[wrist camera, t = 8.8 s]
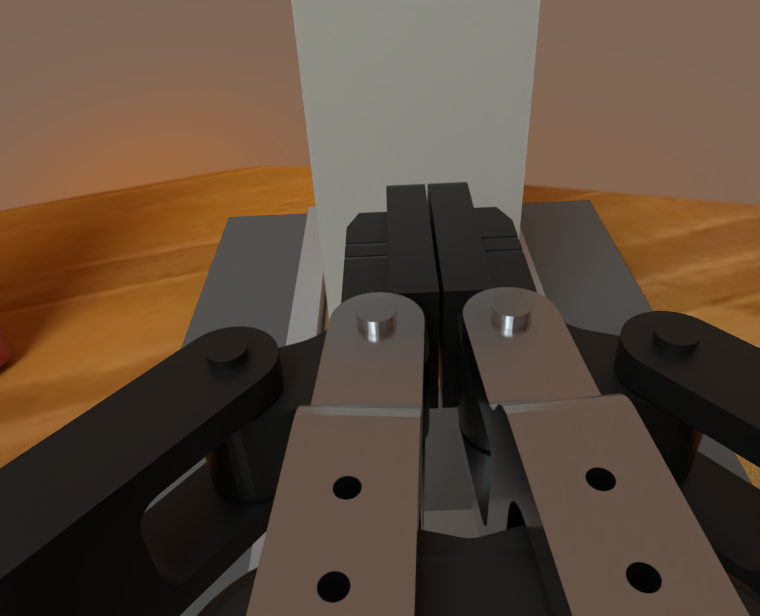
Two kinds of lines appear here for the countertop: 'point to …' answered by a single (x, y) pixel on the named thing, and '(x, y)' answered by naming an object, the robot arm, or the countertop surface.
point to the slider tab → (412, 105)
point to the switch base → (443, 461)
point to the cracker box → (4, 350)
